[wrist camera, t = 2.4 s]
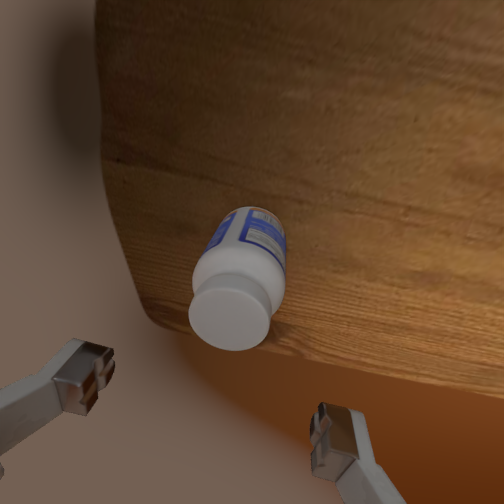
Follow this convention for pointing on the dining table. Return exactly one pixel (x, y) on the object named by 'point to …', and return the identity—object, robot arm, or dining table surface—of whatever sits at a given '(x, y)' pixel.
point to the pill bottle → (239, 280)
